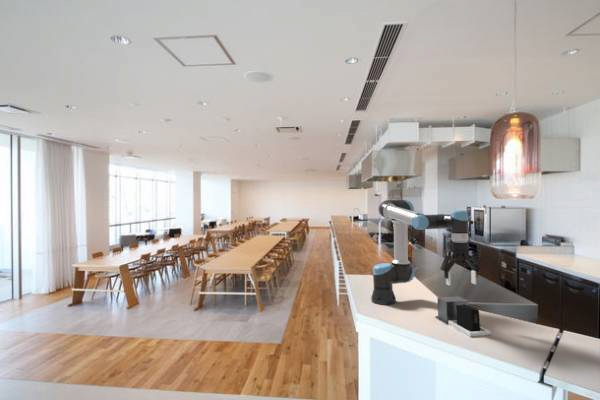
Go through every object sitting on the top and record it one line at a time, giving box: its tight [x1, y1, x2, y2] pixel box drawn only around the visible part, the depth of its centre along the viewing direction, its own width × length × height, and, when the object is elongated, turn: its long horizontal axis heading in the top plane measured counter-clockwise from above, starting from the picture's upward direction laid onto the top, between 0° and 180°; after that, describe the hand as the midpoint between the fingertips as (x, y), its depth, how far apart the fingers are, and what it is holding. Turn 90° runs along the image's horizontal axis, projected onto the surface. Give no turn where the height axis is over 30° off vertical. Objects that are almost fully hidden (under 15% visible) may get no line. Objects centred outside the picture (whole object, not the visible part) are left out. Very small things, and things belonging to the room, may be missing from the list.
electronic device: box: [456, 304, 481, 332], centre depth 146 cm, size 4×10×10 cm, turn 13°
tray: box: [447, 320, 491, 338], centre depth 146 cm, size 16×10×2 cm, turn 7°
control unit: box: [434, 295, 470, 325], centre depth 159 cm, size 10×14×11 cm
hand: (461, 284), depth 152 cm, fingers open, 13 cm apart
